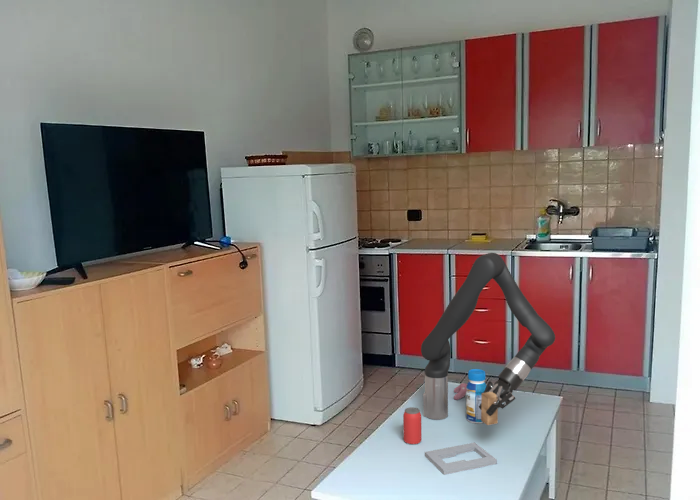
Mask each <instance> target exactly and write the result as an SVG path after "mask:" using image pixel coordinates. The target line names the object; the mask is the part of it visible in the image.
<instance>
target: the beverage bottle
mask: <svg viewBox="0 0 700 500" xmlns="http://www.w3.org/2000/svg"><path fill="white" fill-rule="evenodd" d="M486 376H487V375H486V371H485V370H483V369H479V368H474V369H473V368H472V369H469V370H468V372H467V379H468V382H467V383H466V384H467V386H466V389H467V392H466V394H465V398H466V399H465V401H466V402H465V405H466V407H465V408H466V411H465V413H466V415H465V416H466V417H465V418H466V421H468V422H469V423H472V424H477V425H478V424H483V423H484V422H482V421H481V409H480V408H479V405H480V404H481V393H483V392H484V390H485V388H486V386H487V384H486V382H485V380H486ZM484 424H485V423H484Z"/></svg>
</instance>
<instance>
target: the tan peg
mask: <svg viewBox="0 0 700 500" xmlns="http://www.w3.org/2000/svg"><path fill="white" fill-rule="evenodd" d="M495 399H496V394H495V393H493V392H486V393H481V421H482V422H484V424H485V425H487V426H490V425H491V426H492V425H497V424H498V421H499V420H498V415H499V413H498V412H499V411H498V409H499V408H497V410H496V411H495V412H494V413H493V414H492V415H491V416H489V415H488V414H487V413H486V411H487V410H488V409H489V407H490V406H491V405H492V404H493V402H494V401H495Z"/></svg>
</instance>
